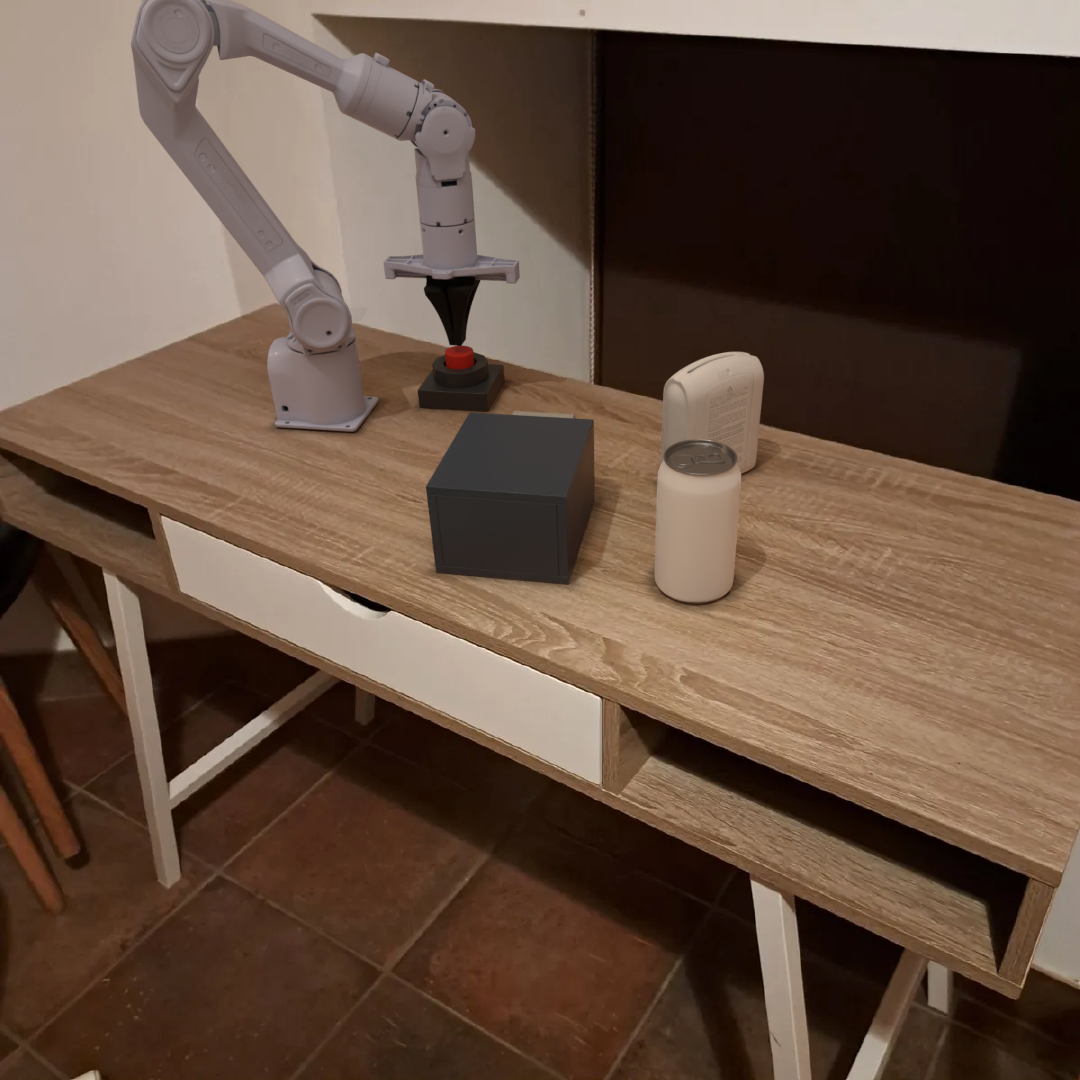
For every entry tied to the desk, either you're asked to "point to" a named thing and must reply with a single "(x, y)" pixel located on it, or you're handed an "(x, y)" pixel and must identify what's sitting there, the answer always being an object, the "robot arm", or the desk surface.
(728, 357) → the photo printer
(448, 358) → the button
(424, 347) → the desk surface
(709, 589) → the can
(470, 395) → the control block
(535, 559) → the cabinet
